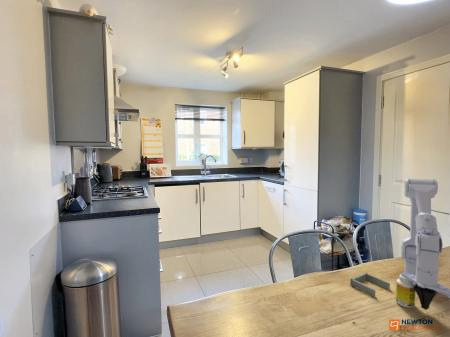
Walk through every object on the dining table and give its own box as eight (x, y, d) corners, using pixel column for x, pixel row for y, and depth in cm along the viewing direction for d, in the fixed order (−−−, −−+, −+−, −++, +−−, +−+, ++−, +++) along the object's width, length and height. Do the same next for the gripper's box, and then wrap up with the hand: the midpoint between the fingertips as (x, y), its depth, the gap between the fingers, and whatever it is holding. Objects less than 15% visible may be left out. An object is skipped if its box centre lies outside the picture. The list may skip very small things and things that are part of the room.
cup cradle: (365, 278, 108) (366, 272, 108) (389, 289, 99) (390, 283, 99) (350, 284, 103) (350, 278, 102) (374, 296, 94) (374, 290, 94)
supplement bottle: (410, 310, 86) (412, 282, 85) (392, 302, 90) (393, 275, 90) (417, 305, 89) (418, 277, 88) (399, 297, 93) (400, 271, 93)
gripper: (397, 263, 88) (395, 300, 89) (449, 282, 75) (446, 325, 76) (407, 258, 91) (406, 294, 92) (459, 276, 78) (456, 317, 79)
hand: (425, 308), depth 84 cm, fingers closed
